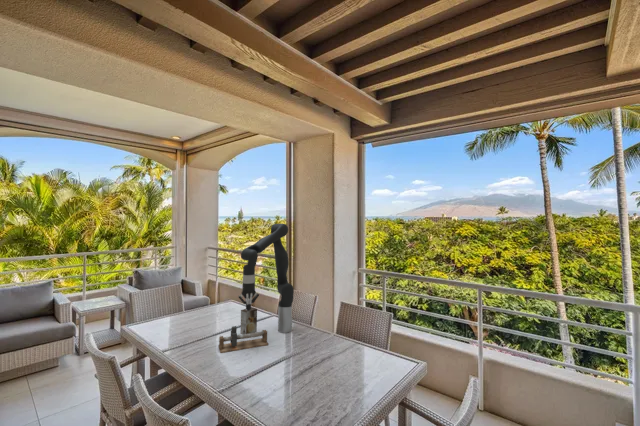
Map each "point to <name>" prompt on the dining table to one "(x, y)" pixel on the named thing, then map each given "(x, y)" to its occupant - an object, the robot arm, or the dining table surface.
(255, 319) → the coffee box
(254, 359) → the dining table surface
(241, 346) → the rail
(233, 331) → the collar
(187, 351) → the dining table surface
